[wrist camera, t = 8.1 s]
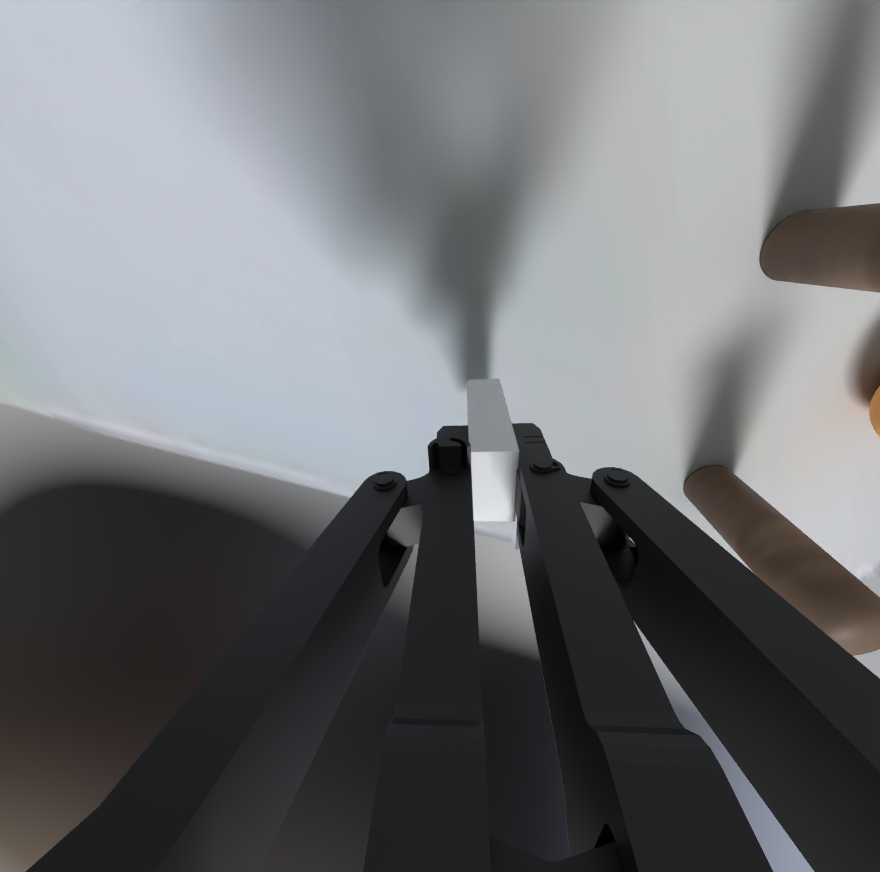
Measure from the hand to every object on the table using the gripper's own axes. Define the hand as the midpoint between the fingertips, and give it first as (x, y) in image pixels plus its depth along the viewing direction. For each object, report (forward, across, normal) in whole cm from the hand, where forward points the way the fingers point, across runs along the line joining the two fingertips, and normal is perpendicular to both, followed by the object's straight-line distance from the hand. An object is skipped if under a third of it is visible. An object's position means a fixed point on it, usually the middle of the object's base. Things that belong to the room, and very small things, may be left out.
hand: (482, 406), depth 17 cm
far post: (+2, +13, -6) cm, 14 cm away
